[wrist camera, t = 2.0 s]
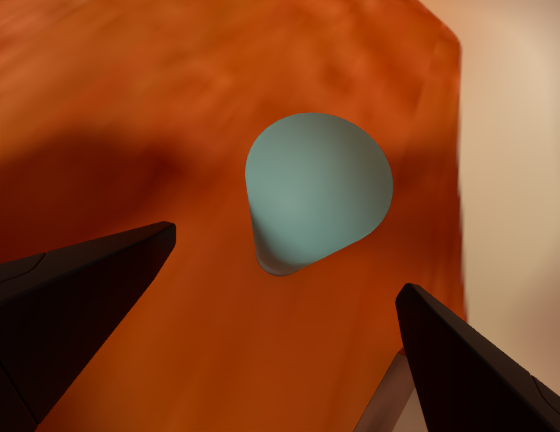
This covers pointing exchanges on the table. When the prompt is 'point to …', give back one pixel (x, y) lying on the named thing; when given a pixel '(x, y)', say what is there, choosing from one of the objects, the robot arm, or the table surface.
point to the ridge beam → (394, 403)
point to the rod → (314, 189)
